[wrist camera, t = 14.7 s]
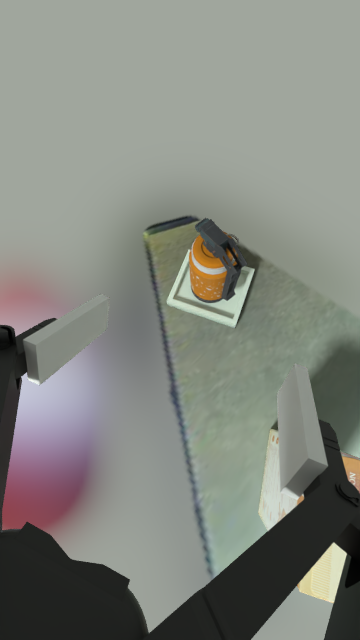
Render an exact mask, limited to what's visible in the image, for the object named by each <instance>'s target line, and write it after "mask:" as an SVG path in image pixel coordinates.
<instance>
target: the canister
mask: <svg viewBox="0 0 360 640" xmlns="http://www.w3.org/2000/svg"><path fill="white" fill-rule="evenodd" d="M195 229H196V230H197V231H198V232H200V235H199V236H198V237H197V238H196V239H195V241H194V242H193V245H192V248H191V250H190V253H189V269H190V283H191V290H192V293H193V294H194V296H195V297H196V298H197V299H199V300H200V301H202V302H205V303H216V302H219V301H221V300H222V299H225V300H226V301H228V300H229V299H231V298H232V297H233V296H234V295H236V294H235V291H234V290H235V287H236V284H237V281H238V278H239V277H240V273H241V269H242V267H244V266H246V265H247V262H246V260H245V259H244V257H243V255H242V254H241V252H240V250H239V248H238V247H237V245H238V243H239V240H238V238H237V237H236V236H234V235H232V234H227V233H225V232H223V231H222V230H221V229H219V227H218V226H216V225H215V223H214V222H213V221H212V220H211V219H210V220H209V219H206V218H205V219H203V220H202V221H201V222H199V223H198V224H196V225H195ZM231 236H232V237H234V238H235V239H236V240H237V244H236V243H235V241H234V240H233V239H232V237H231ZM238 256H239V258H240V259H241V261H240V260H239V259H238Z"/></svg>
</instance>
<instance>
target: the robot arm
mask: <svg viewBox="0 0 360 640" xmlns="http://www.w3.org/2000/svg"><path fill="white" fill-rule="evenodd" d="M108 312H109V297H107V296H104V295H101V294H100V295H98V296H96V297H95V298H93V299H91V300H90V301H88V302H86V303H84V304H83V305H81V306H79V307H78V308H76V309H74V310H72V311H71V312H69V313H67V314H66V315H64V316H62V317H61V318H59V319H56V318H52V319H48V320H45V321H43V322H41V323H40V324H38V325H36V326H34V327H33V328H30V329H29V330H27V331H25V332H23V333H22V334H20V335H18V336H16V337H15V331H14V328H12V327H11V326H7V325H0V640H251V639H252V638H253V636H254V635H255V634H256V633H257V632H258V631H259V629H260V628H261V627H262V626H263V625H264V623H265V622H266V621H267V620H268V619H269V618H270V616H271V615H272V614H273V613H274V612H275V610H276V609H277V608H278V607H279V606H280V605H281V604H282V602H283V601H284V600H285V599H286V598H287V596H288V595H289V594H290V593H291V591H293V589H294V588H295V587H296V586H297V585H298V584H299V582H300V581H301V580H302V579H303V578H304V576H305V575H306V574H307V573H308V572H309V571H310V569H311V568H312V567H313V566H314V565H315V564H316V562H317V561H318V560H319V559H320V558H321V557H322V555H323V554H324V553H325V552H326V551H327V549H328V548H329V547H330V546H331V545H332V544H333V542H334V543H335V544H336V545H337V546H339V547H340V548H341V549H342V550H343V551H345V552H346V553H347V555H346V559H345V563H344V566H343V570H342V574H341V578H340V581H339V585H338V589H337V593H336V596H335V600H334V604H333V608H332V611H331V615H330V619H329V623H328V626H327V630H326V634H325V638H324V640H360V493H359V491H358V490H357V488H356V487H355V486H354V485H353V484H352V483H351V482H350V481H348V477H347V474H346V470H345V466H344V463H343V459H342V455H341V452H340V448H339V444H338V441H337V437H336V433H335V432H334V430H333V429H332V427H331V426H330V424H329V423H326V422H324V421H321V420H319V419H318V417H317V412H316V407H315V403H314V398H313V393H312V389H311V384H310V379H309V374H308V370H307V367H304V366H301V365H299V364H296V363H294V365H293V367H292V369H291V370H290V372H289V374H288V376H287V377H286V379H285V381H284V382H283V384H282V386H281V388H280V389H279V391H278V393H277V407H278V437H279V466H280V492H281V493H283V494H285V495H287V496H289V497H292V498H294V499H296V500H298V499H299V498H300V497H301V495H302V494H304V500H303V501H302V502H300V503H299V504H298V505H297V506H296V507H295V508H294V509H292V510H291V511H290V512H289V513H288V514H287V515H286V516H285V517H283V518H282V519H281V520H280V521H279V522H278V523H277V524H275V525H274V526H273V527H272V528H271V529H270V530H269V531H267V532H266V533H265V534H264V535H263V536H262V537H261V538H260V539H258V540H257V541H256V542H255V543H254V544H253V545H252V546H250V547H249V548H248V549H247V550H246V551H245V552H244V553H242V554H241V555H240V556H239V557H238V558H237V559H236V560H235V561H233V562H232V563H231V564H230V565H229V566H228V567H227V568H225V569H224V570H223V571H222V572H221V573H220V574H219V575H217V576H216V577H215V578H214V579H213V580H212V581H211V582H210V583H208V584H207V585H206V586H205V587H204V588H202V589H200V590H199V591H198V592H196V593H195V594H194V595H193V596H192V597H190V598H189V599H188V600H187V601H186V602H185V603H183V604H182V605H181V606H180V607H179V608H178V609H177V610H175V611H174V612H173V613H172V614H171V615H170V616H169V617H167V618H166V619H165V620H164V621H163V622H162V623H161V624H160V625H158V626H157V627H156V628H155V629H154V630H153V631H151V632H150V633H149V632H148V629H147V624H146V620H145V617H144V615H143V612H142V609H141V607H140V605H139V603H138V601H137V599H136V598H135V596H134V595H133V593H132V592H131V591H130V590H129V589H128V588H127V587H128V584H129V581H130V579H128V578H126V577H124V576H122V575H121V574H119V573H117V572H116V571H114V570H112V569H110V568H108V567H107V566H105V565H103V564H96V563H89V562H83V561H76V560H72V559H70V558H69V557H68V556H67V554H66V553H65V552H64V551H63V550H62V548H61V547H60V546H59V545H58V543H57V542H56V541H55V540H54V539H53V537H52V536H51V535H50V534H48V533H46V532H44V531H43V530H41V529H39V528H37V527H35V526H34V525H32V524H30V523H28V522H26V524H25V525H24V526H23V528H22V529H9V530H2V507H3V500H4V494H5V487H6V480H7V474H8V468H9V462H10V455H11V448H12V442H13V435H14V429H15V422H16V416H17V409H18V402H19V396H20V389H21V383H22V378H21V376H22V375H24V374H25V373H26V372H27V375H28V380H29V381H32V382H34V383H36V384H39V385H41V384H42V383H43V382H44V381H45V380H46V379H48V378H49V377H50V376H51V375H53V374H54V373H55V372H56V371H58V370H59V369H60V368H61V367H62V366H64V365H65V364H66V363H67V362H68V361H69V360H71V359H72V358H73V357H74V356H75V355H77V354H78V353H79V352H80V351H81V350H83V349H84V348H85V347H86V346H88V345H89V344H90V343H91V342H92V341H93V340H95V339H96V338H97V337H98V336H100V335H101V334H102V333H103V332H105V331H106V330H107V325H108Z"/></svg>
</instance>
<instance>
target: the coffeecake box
mask: <svg viewBox="0 0 360 640" xmlns="http://www.w3.org/2000/svg"><path fill="white" fill-rule="evenodd" d="M340 452H341V451H340ZM341 455H342V459H343V463H344V466H345V470H346V474H347V477H348V481H350V482H351V483H352V484H353V485H354V486H355V487H356V488H357V490H358V491H359V493H360V458H357V457H355V456H352V455H349V454H347V453H344V452H341ZM303 500H304V494H302V495H301V497H300V498H299V499H298V500H296V499H294V498H292V497H289V496H287V495H285V494H283V493H281V492H280V466H279V437H278V430H274V429H270V434H269V441H268V448H267V455H266V462H265V469H264V476H263V483H262V490H261V497H260V505H259V512H258V514H259V515H260V517H261V519H262V521H263V523H264V524H265V526H266V528H267V530H268V531H269V530H270V529H271V528H272V527H273V526H274V525H275V524H277V523H278V522H279V521H280V520H281V519H282V518H283V517H285V516H286V515H287V514H288V513H289V512H290V511H291V510H292V509H294V508H295V507H296V506H297V505H298V504H299V503H300V502H302V501H303ZM346 555H347V553H346V552H345V551H343V550H342V549H341V548H340V547H339V546H337V545H336V544H335V543H334V542H333V544H332V545H331V546H330V547H329V548H328V549H327V551H326V552H325V553H324V554H323V555H322V557H321V558H320V559H319V560H318V561H317V562H316V564H315V565H314V566H313V567H312V568H311V569H310V571H309V572H308V573H307V574H306V575H305V576H304V578H303V579H302V580H301V581H300V582H299V584H298V585H297V586H298V588H299V591H300V592H302V593H305V594H308V595H311V596H313V597H316V598H319V599H323V600H326V601H328V602H331V603H334V600H335V596H336V593H337V589H338V585H339V581H340V578H341V574H342V570H343V566H344V563H345V559H346Z"/></svg>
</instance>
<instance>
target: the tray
mask: <svg viewBox="0 0 360 640" xmlns="http://www.w3.org/2000/svg"><path fill="white" fill-rule="evenodd" d="M189 253H190V250H188V253H187V255H186V257H185V260H184V262H183V264H182V267H181V269H180V271H179V274H178V276H177V278H176V281H175V283H174V285H173V288H172V290H171V292H170V295H169V297H168V300H167V304H168V305H169V306H172V307H175V308H178V309H180V310H183V311H186V312H189V313H192V314H195V315H198V316H201V317H204V318H207V319H209V320H212V321H215V322H218V323H221V324H224V325H227V326H230V327H233V328H235V326H236V323H237V320H238V317H239V314H240V312H241V309H242V306H243V303H244V300H245V297H246V294H247V291H248V288H249V285H250V282H251V279H252V276H253V273H254V270H255V269H252V268H249V267H246V266H244V267H242V269H241V273H240V277H239V278H238V281H237V284H236V287H235V290H234V291H235V294H236V295H234V296H233V297H232V298H231V299H229V300H228V301H226V300H225V299H222V300H221V301H219V302H216V303H205V302H202V301H200V300H199V299H197V298H196V297H195V296H194V294H193V293H192V290H191V283H190V269H189Z"/></svg>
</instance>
